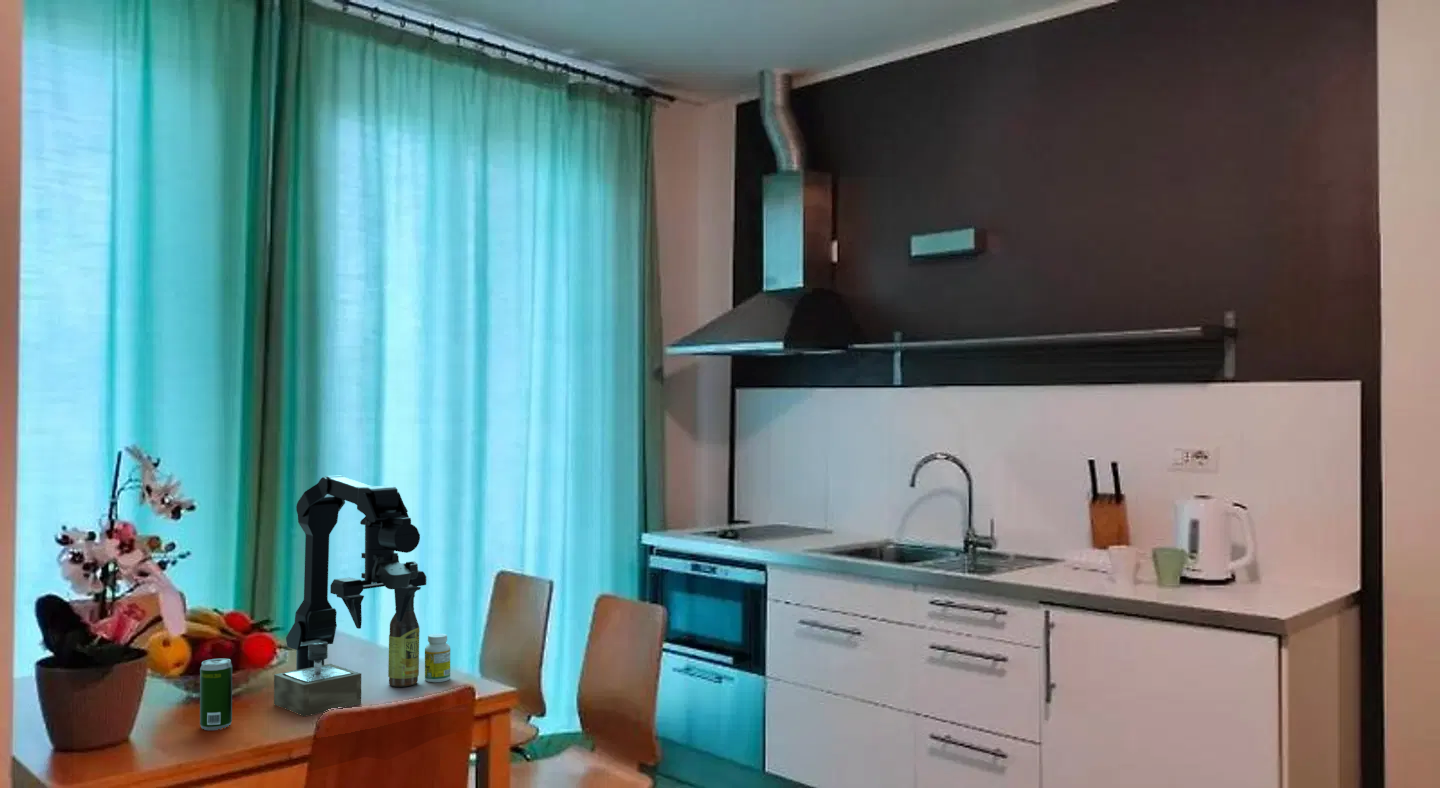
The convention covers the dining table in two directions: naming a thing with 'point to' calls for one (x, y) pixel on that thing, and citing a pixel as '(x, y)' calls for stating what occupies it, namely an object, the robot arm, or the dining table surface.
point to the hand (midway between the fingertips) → (379, 624)
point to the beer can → (215, 694)
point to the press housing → (317, 692)
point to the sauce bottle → (404, 648)
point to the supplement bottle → (437, 658)
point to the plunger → (317, 665)
